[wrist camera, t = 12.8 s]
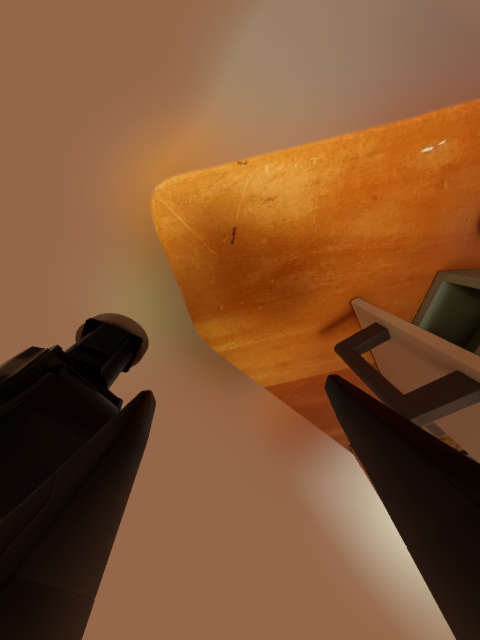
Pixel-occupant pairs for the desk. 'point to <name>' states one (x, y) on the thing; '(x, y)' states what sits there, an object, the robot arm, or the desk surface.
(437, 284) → the cupboard
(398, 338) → the shelf door
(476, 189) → the desk surface
